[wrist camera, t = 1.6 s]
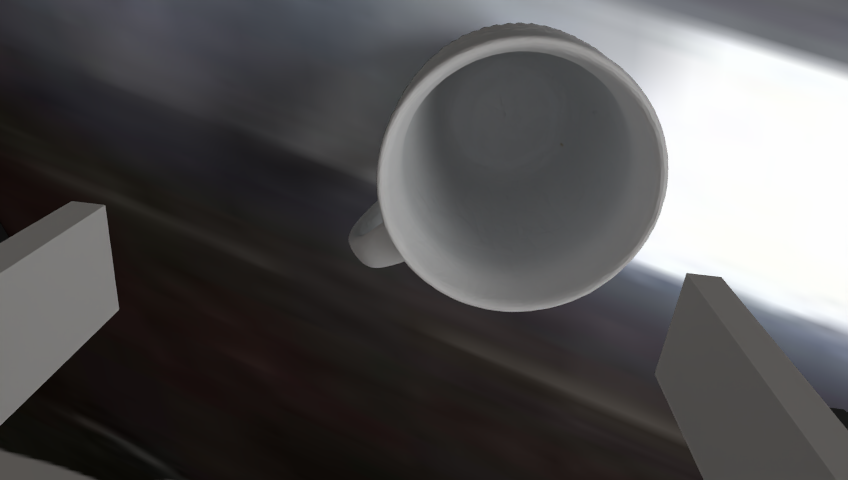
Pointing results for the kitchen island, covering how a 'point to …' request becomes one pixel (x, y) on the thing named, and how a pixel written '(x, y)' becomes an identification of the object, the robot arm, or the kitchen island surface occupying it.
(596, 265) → the mug
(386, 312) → the kitchen island surface
